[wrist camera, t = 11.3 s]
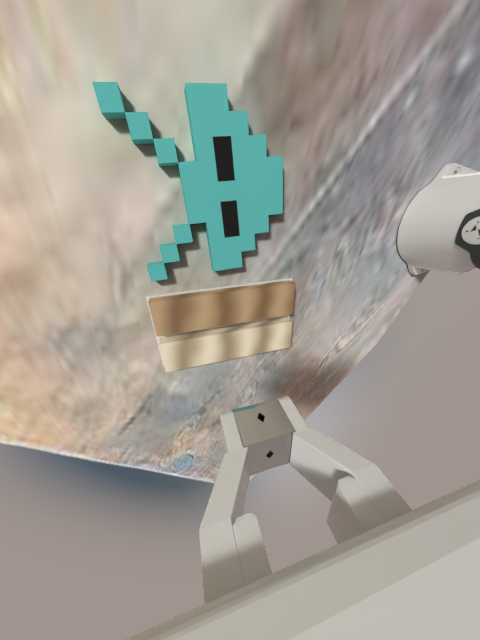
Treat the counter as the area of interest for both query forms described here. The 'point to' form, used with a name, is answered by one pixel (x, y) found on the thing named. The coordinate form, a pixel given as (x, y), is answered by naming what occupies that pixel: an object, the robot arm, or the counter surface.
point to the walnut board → (221, 307)
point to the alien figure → (211, 173)
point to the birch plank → (225, 343)
